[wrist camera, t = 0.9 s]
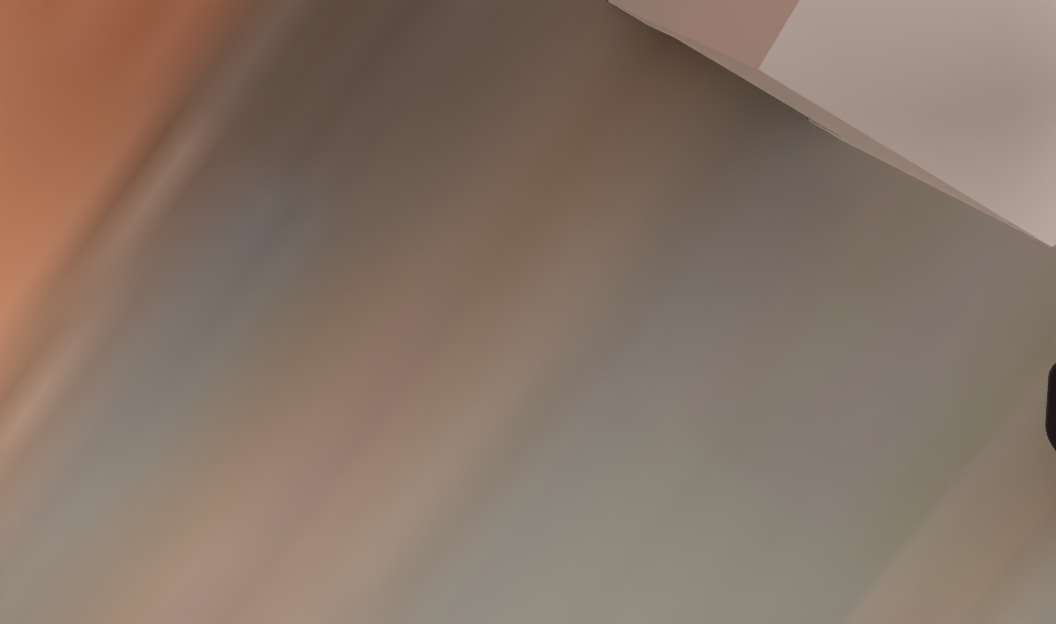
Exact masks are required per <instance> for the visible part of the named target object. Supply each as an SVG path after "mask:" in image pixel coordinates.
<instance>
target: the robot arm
mask: <svg viewBox="0 0 1056 624" xmlns="http://www.w3.org/2000/svg"><path fill="white" fill-rule="evenodd" d="M1045 427H1046V432H1047V436H1048V438H1049V441H1050V443H1051V444H1052V446H1053V448H1054V449H1055V451H1056V363H1055V364H1054V365H1053V366H1052V368H1051V370H1050V372H1049V376H1048V390H1047V406H1046V421H1045Z"/></svg>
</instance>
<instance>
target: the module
mask: <svg viewBox="0 0 1056 624" xmlns="http://www.w3.org/2000/svg"><path fill="white" fill-rule="evenodd" d="M608 2H609V3H611V4H613V5H614V6H616V7H618V8H619V9H621V10H623V11H624V12H626V13H628V14H629V15H631V16H633V17H634V18H636V19H638V20H639V21H641V22H643V23H645V24H646V25H648V26H650V27H652V28H655V29H657V30H659V31H661V32H663V33H665V34H667V35H670V36H672V37H674V38H676V39H678V40H679V41H681V42H683V43H684V44H686V45H688V46H689V47H691V48H693V49H694V50H696V51H698V52H699V53H701V54H703V55H704V56H706V57H708V58H709V59H711V60H713V61H714V62H716V63H718V64H720V65H721V66H723V67H725V68H726V69H728V70H730V71H731V72H733V73H735V74H736V75H738V76H740V77H741V78H743V79H745V80H746V81H748V82H750V83H751V84H753V85H755V86H756V87H758V88H760V89H761V90H763V91H765V92H767V93H768V94H770V95H772V96H773V97H775V98H777V99H778V100H780V101H782V102H783V103H785V104H787V105H788V106H790V107H792V108H793V109H795V110H797V111H798V112H800V113H802V114H803V115H805V116H807V117H808V118H809V119H808V121H810V122H811V123H813V124H815V125H816V126H818V127H820V128H821V129H823V130H825V131H826V132H828V133H830V134H831V135H833V136H835V137H836V138H838V139H840V140H842V141H844V142H846V143H848V144H850V145H852V146H854V147H856V148H858V149H860V150H861V151H863V152H865V153H867V154H869V155H871V156H873V157H875V158H877V159H879V160H881V161H883V162H885V163H887V164H889V165H891V166H893V167H895V168H897V169H899V170H901V171H903V172H905V173H907V174H909V175H911V176H913V177H915V178H917V179H919V180H921V181H923V182H925V183H926V184H928V185H930V186H932V187H934V188H936V189H938V190H940V191H942V192H944V193H946V194H948V195H950V196H952V197H954V198H956V199H958V200H960V201H962V202H964V203H966V204H968V205H970V206H972V207H974V208H976V209H978V210H980V211H982V212H984V213H986V214H988V215H989V216H991V217H993V218H995V219H997V220H999V221H1001V222H1003V223H1005V224H1007V225H1009V226H1011V227H1013V228H1015V229H1017V230H1019V231H1021V232H1023V233H1025V234H1027V235H1029V236H1031V237H1033V238H1035V239H1037V240H1039V241H1041V242H1043V243H1045V244H1047V245H1049V246H1051V247H1054V245H1055V244H1056V0H609V1H608Z"/></svg>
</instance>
